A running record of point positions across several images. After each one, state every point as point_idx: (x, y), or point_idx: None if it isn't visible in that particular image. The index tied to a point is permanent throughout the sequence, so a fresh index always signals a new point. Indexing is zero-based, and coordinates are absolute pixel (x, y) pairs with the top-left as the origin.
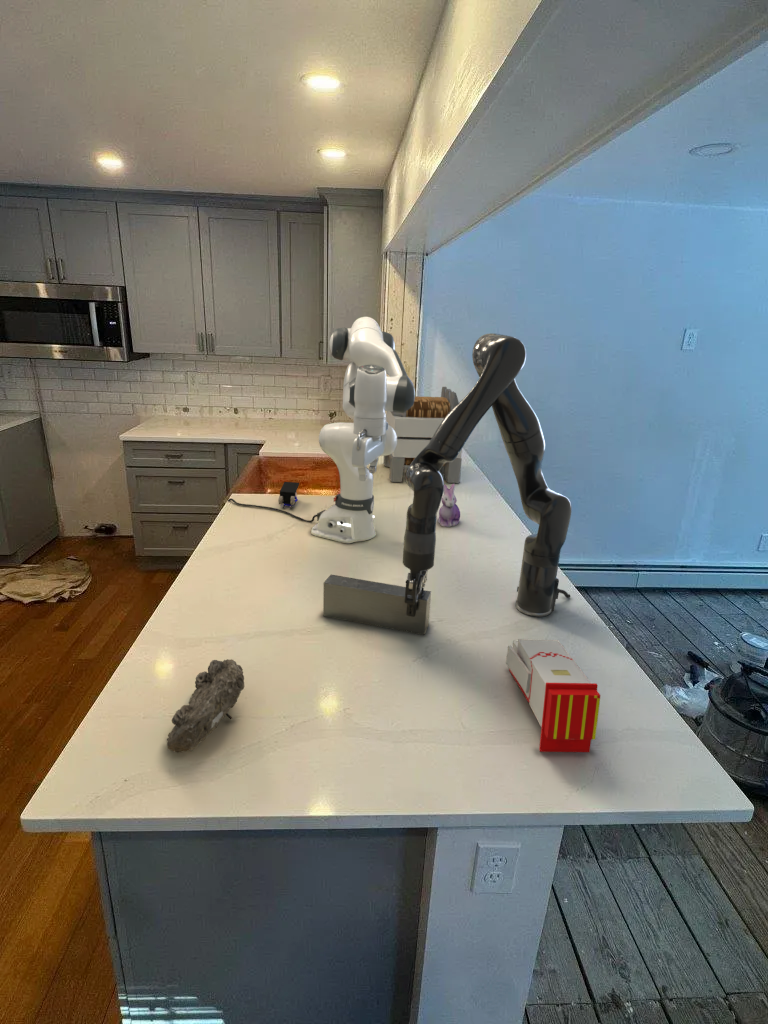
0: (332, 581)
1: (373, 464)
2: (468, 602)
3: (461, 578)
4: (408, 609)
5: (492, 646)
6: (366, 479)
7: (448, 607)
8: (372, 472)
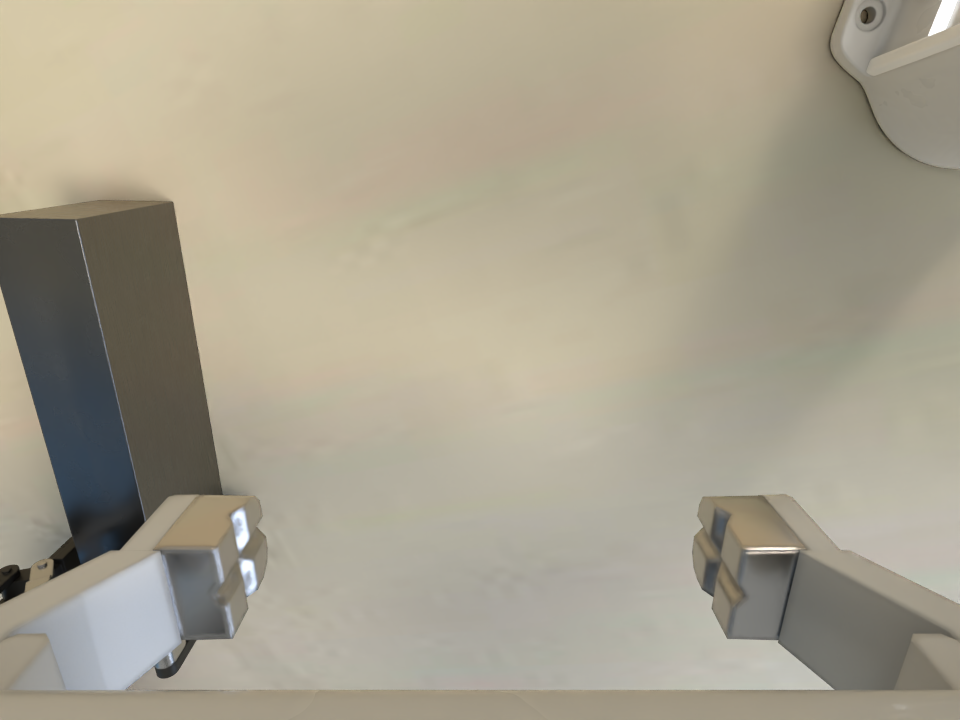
0: (15, 254)
1: (825, 626)
2: (413, 607)
3: (576, 575)
4: (60, 549)
5: (207, 671)
6: (259, 569)
7: (357, 562)
8: (703, 539)
